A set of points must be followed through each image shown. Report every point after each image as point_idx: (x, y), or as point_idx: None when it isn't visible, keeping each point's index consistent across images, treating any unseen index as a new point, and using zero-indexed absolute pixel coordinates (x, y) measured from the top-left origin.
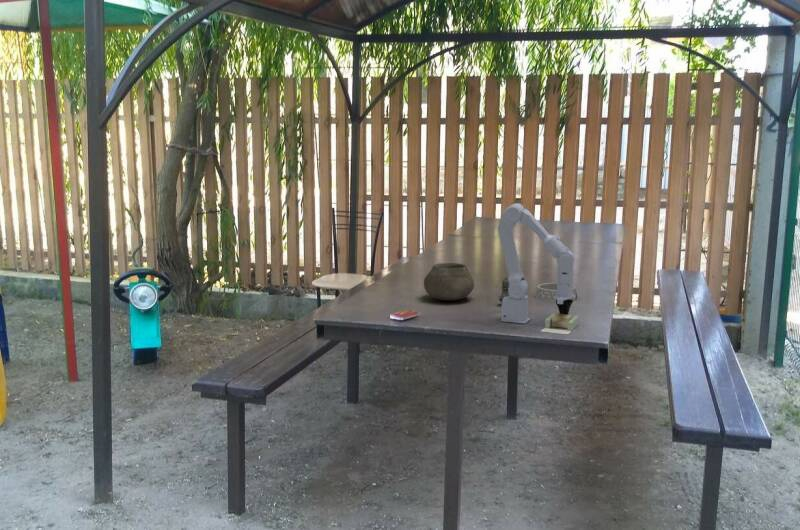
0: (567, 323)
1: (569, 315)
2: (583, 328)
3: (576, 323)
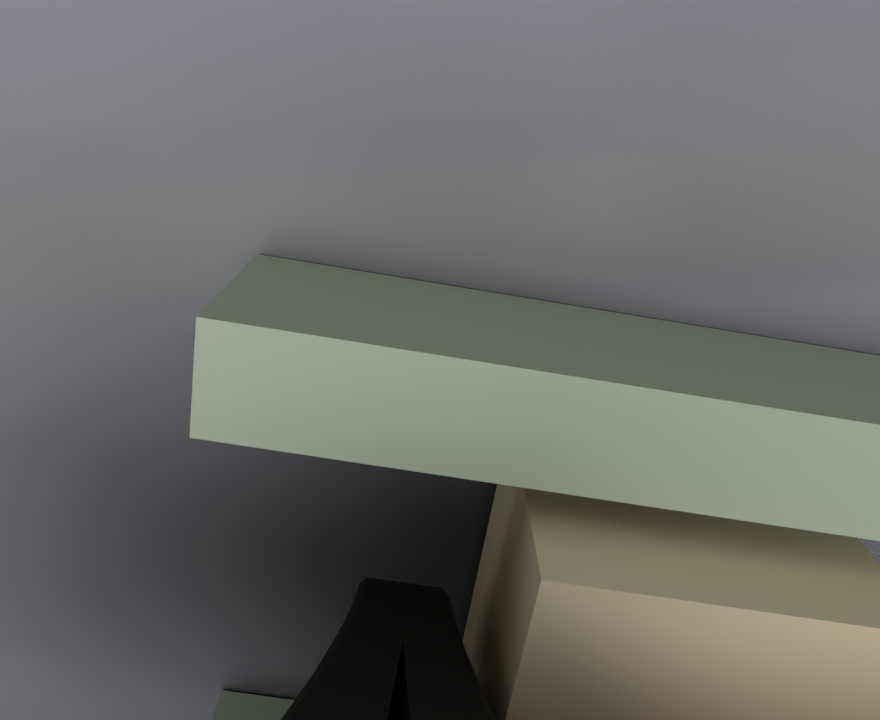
0: (839, 537)
1: (661, 623)
2: (697, 102)
3: (501, 312)
